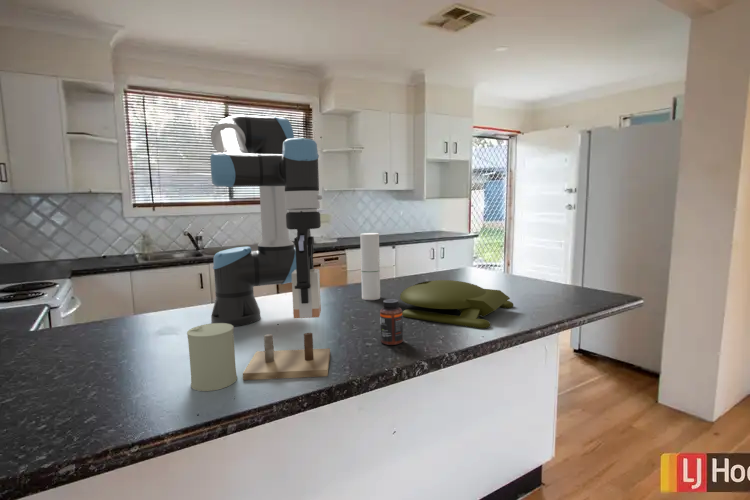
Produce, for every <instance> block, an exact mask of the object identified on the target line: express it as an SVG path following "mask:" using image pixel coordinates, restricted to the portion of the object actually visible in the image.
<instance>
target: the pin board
mask: <svg viewBox="0 0 750 500" xmlns="http://www.w3.org/2000/svg"><path fill="white" fill-rule="evenodd" d="M313 337H314V335H313V332H305V333H303V347H304V348H303V349H285V350H275V349H274V335H273V334H271V333H268V334H265V335H263V340H264V341H263V345H264V350H262V351H260V350H257V351H256V352H255V353H254V355H253V356H252V358H251V360H250V361H249V363H248V364H247V365H246V367H245V369H244V371H243V372H242V380H243V381H252V380H254V381H255V380H273V379H275V380H276V379H277V380H278V379H297V378H317V377H318V378H320V377H322V378H323V377H328V375H329V367H330V359H331V348H314V339H313Z"/></svg>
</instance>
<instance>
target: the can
mask: <svg viewBox="0 0 750 500" xmlns="http://www.w3.org/2000/svg"><path fill="white" fill-rule="evenodd" d="M234 327H235V326H233V325H231V324H227V323H212V322H211V323H207V324H201V325H197V326H194V327H192V328H191V329H189V330H188V331H187V332H186V335H187V342H188V343H187V344H188V354H189V367H190V388H191V389H193V390H195V391H198V392H213V391H218V390H223V389H226V388H228V387H229V386H232V385H233V384H234V383H236V381H237V379H238V376H237V368H236V355H235V354H236V353H235V337H234V336H235V335H234V332H235V331H234Z"/></svg>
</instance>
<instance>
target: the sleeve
mask: <svg viewBox="0 0 750 500" xmlns="http://www.w3.org/2000/svg"><path fill="white" fill-rule="evenodd" d="M320 276H321V275H320V268H314V269H310V284H311V295H312V317H307V318H306V319H313V318H315V319H316V318H320V316H321V312H322V305H321V304H322V303H321V299H322V298H321V283H320V282H321V281H320V280H321V277H320ZM301 282H305V281H301ZM295 286H297V271H296V270H294V271H293V272H292V282H291V292H292V313H293V314H292V315H293V319H301V318H300V314H299V292H298V289H295Z"/></svg>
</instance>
